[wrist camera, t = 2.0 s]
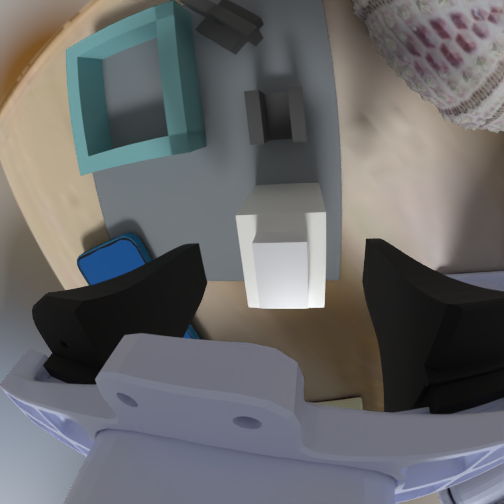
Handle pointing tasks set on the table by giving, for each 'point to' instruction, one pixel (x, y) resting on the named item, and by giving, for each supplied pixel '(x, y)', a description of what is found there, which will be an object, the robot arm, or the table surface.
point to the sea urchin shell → (445, 53)
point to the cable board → (206, 120)
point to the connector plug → (283, 246)
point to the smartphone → (117, 262)
